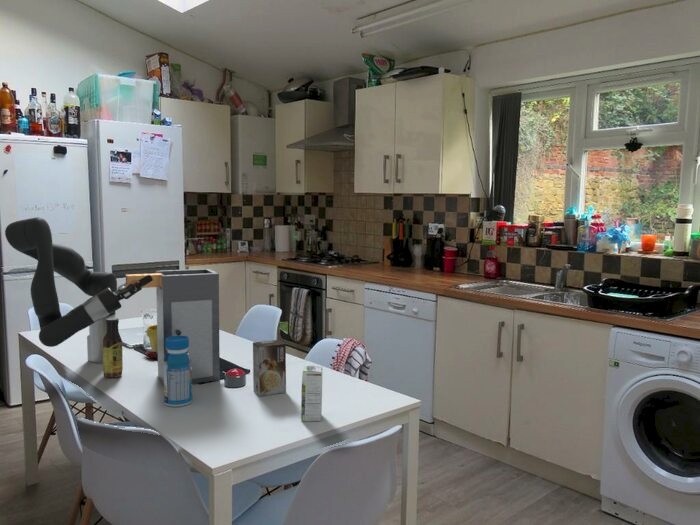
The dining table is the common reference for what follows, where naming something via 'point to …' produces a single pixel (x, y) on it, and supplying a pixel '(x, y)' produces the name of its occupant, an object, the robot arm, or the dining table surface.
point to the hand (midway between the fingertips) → (150, 276)
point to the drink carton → (311, 393)
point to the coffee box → (269, 367)
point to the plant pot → (153, 337)
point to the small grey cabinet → (190, 319)
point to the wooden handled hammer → (155, 283)
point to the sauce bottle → (112, 350)
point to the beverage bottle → (177, 372)
